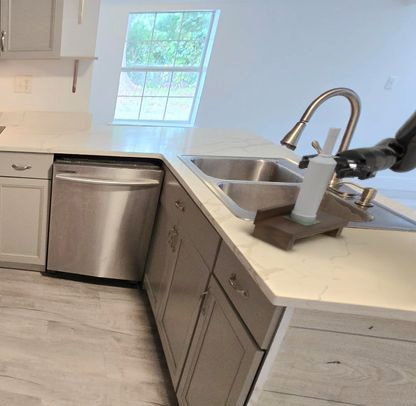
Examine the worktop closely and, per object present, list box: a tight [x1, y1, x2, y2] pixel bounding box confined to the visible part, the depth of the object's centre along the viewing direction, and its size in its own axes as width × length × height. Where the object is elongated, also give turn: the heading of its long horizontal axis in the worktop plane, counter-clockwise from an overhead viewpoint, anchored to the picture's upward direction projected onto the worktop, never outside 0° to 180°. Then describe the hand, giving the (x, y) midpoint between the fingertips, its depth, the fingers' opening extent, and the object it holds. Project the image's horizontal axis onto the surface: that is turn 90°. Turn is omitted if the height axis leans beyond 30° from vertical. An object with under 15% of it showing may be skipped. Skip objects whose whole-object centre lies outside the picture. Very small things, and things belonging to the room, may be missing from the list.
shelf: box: [251, 200, 350, 251], centre depth 100 cm, size 10×22×8 cm, turn 109°
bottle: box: [291, 126, 342, 223], centre depth 95 cm, size 5×5×25 cm
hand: (319, 169), depth 94 cm, fingers open, 8 cm apart
